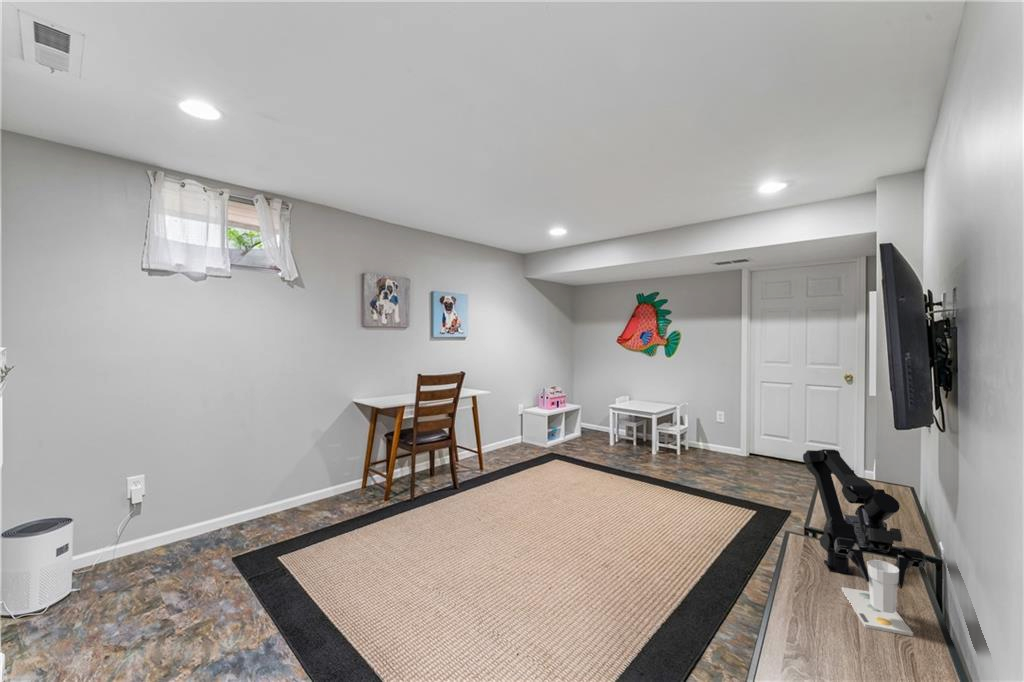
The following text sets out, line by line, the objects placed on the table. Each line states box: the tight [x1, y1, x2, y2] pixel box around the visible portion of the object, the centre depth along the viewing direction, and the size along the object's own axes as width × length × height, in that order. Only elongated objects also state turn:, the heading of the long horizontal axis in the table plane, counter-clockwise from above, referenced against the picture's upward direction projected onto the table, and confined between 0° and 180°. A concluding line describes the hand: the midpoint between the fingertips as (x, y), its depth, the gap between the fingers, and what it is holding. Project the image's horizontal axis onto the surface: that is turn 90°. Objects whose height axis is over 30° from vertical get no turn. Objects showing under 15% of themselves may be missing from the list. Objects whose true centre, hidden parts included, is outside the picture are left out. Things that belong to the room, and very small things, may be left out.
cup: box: [866, 559, 899, 613], centre depth 114 cm, size 7×7×11 cm
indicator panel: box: [841, 586, 914, 637], centre depth 120 cm, size 18×10×1 cm, turn 158°
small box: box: [844, 514, 888, 545], centre depth 155 cm, size 11×6×10 cm, turn 74°
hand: (884, 584), depth 113 cm, fingers closed on cup, 6 cm apart
